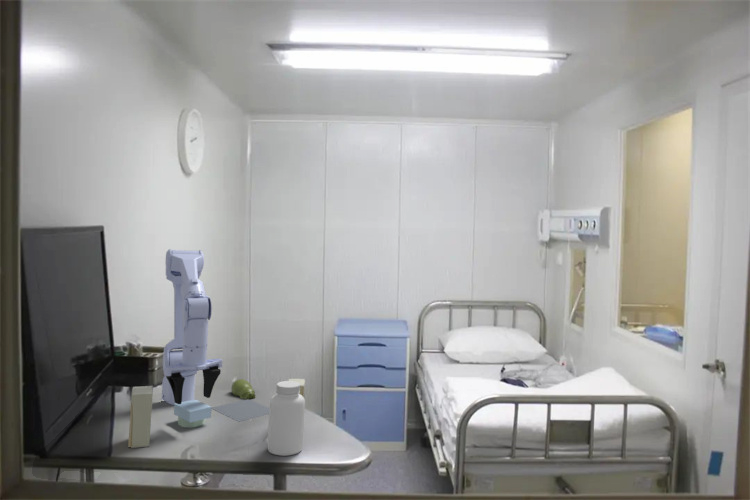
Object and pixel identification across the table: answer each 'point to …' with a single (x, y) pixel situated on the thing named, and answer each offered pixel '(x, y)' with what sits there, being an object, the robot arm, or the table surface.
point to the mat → (242, 410)
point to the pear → (243, 389)
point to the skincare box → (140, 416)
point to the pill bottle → (286, 419)
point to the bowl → (191, 424)
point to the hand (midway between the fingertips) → (192, 399)
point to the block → (192, 410)
